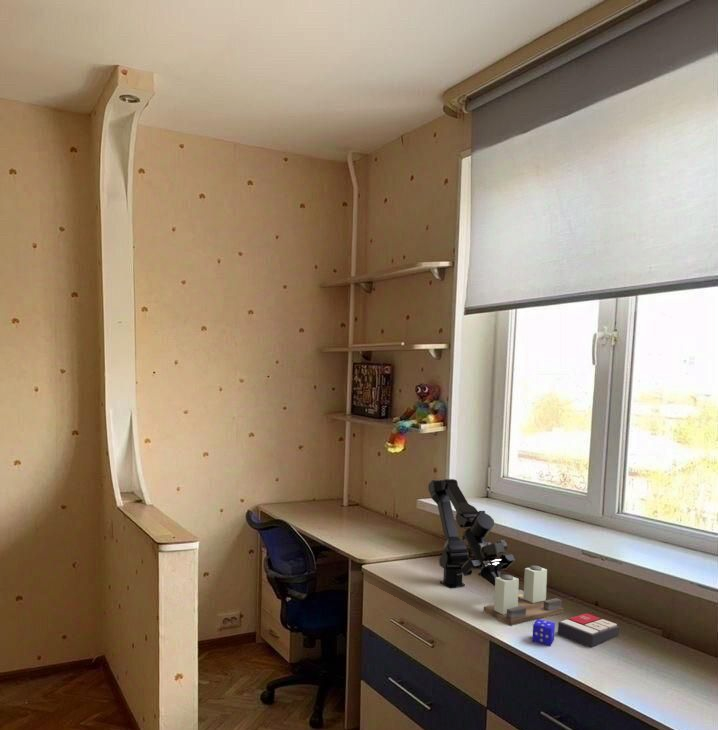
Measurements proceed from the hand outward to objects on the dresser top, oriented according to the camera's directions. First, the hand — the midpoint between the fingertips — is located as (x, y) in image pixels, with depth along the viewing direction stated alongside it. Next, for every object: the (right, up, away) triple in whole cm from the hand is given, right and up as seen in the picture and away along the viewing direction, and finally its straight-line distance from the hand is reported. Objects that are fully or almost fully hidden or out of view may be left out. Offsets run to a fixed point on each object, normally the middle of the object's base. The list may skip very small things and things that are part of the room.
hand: (501, 589), depth 198 cm
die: (+8, -8, -19) cm, 22 cm away
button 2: (+13, -7, +9) cm, 17 cm away
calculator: (+23, -9, -13) cm, 28 cm away
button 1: (+1, -6, -2) cm, 6 cm away
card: (+11, -8, +17) cm, 22 cm away
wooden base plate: (+8, -8, +2) cm, 11 cm away
